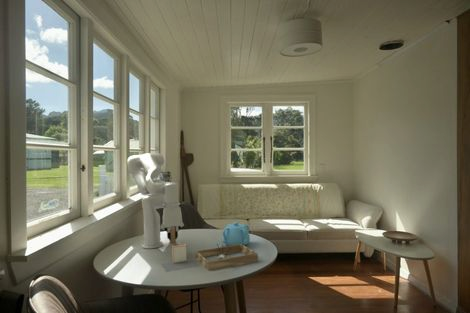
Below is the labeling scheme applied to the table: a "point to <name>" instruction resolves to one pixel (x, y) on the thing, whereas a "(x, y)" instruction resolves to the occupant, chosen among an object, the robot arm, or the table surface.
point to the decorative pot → (236, 234)
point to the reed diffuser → (221, 255)
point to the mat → (179, 265)
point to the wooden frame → (234, 261)
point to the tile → (179, 253)
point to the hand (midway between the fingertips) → (172, 238)
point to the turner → (173, 238)
